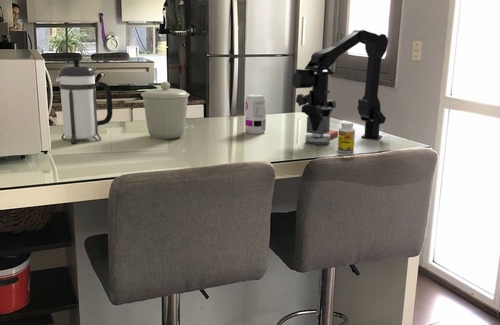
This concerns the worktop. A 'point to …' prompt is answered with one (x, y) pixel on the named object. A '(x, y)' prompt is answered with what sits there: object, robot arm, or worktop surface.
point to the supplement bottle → (346, 137)
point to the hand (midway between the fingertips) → (318, 129)
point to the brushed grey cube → (322, 126)
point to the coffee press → (81, 102)
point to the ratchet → (320, 138)
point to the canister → (165, 111)
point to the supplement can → (255, 114)
